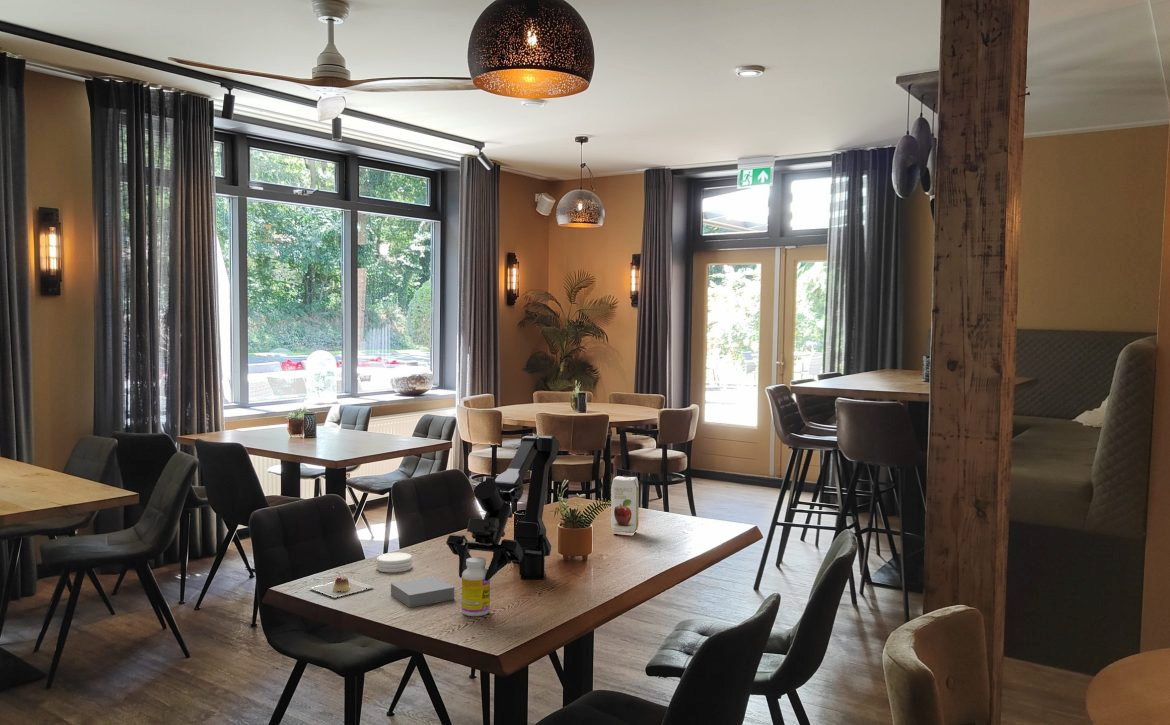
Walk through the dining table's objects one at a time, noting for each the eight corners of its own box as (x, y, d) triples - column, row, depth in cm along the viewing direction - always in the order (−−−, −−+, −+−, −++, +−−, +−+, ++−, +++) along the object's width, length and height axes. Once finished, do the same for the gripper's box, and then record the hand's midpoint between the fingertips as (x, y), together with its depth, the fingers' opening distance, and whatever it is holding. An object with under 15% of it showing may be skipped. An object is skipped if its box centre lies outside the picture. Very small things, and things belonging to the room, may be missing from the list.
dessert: (308, 592, 220) (308, 573, 220) (348, 582, 229) (348, 564, 229) (334, 601, 212) (334, 582, 212) (374, 591, 221) (374, 572, 221)
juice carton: (614, 530, 290) (615, 475, 289) (639, 532, 287) (640, 476, 287) (609, 535, 282) (610, 478, 282) (635, 537, 280) (635, 480, 280)
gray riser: (434, 587, 223) (434, 576, 223) (454, 599, 213) (454, 587, 213) (390, 594, 216) (390, 583, 216) (409, 607, 206) (409, 595, 206)
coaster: (374, 565, 244) (374, 553, 244) (408, 562, 248) (408, 550, 248) (379, 575, 235) (379, 562, 235) (415, 571, 239) (415, 559, 239)
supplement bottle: (484, 618, 199) (484, 563, 198) (457, 616, 200) (457, 562, 200) (493, 609, 205) (493, 556, 205) (467, 607, 207) (467, 555, 206)
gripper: (449, 501, 209) (426, 556, 199) (518, 507, 202) (497, 564, 192) (465, 526, 217) (443, 581, 207) (532, 533, 210) (512, 589, 200)
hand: (473, 578), depth 201 cm, fingers closed on supplement bottle, 7 cm apart
